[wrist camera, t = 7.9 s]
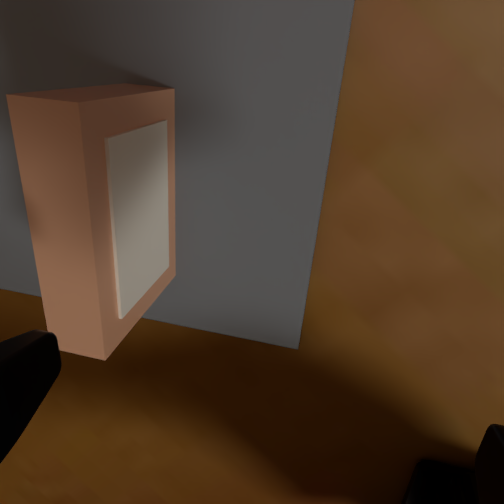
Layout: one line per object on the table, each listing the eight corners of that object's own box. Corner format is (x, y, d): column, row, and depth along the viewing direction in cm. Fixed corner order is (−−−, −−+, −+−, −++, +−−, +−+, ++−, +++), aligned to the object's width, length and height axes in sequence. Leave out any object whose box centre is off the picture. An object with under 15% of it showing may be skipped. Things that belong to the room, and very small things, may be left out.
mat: (298, 344, 19) (297, 349, 19) (3, 284, 22) (-3, 287, 21) (361, -40, 13) (361, -43, 12) (-73, -60, 15) (-84, -63, 15)
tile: (178, 276, 19) (108, 361, 13) (135, 268, 19) (50, 348, 14) (177, 88, 15) (82, 102, 10) (124, 83, 15) (6, 94, 10)
